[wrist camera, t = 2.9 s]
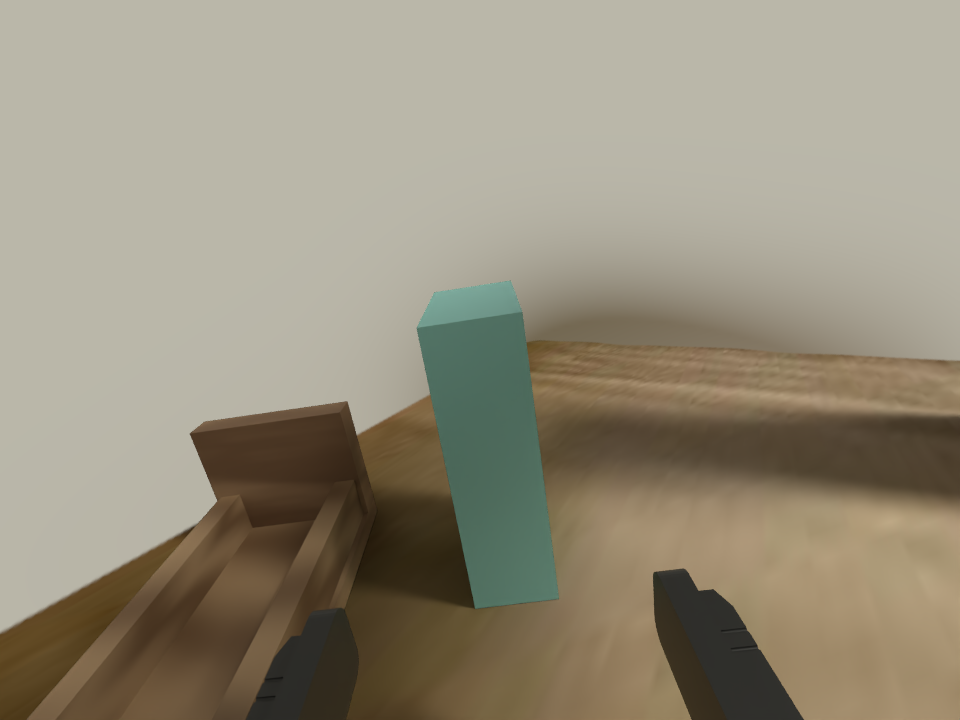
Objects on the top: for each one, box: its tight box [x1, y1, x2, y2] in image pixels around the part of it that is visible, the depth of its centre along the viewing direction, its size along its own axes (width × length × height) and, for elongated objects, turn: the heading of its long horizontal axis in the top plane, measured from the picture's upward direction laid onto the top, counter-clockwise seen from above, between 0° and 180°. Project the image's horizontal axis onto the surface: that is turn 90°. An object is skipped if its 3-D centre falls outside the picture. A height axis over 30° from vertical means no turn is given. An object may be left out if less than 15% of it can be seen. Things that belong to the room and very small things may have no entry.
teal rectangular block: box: [417, 281, 559, 609], centre depth 23 cm, size 7×4×14 cm, turn 0°
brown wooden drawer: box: [26, 402, 377, 720], centre depth 20 cm, size 18×9×8 cm, turn 0°
